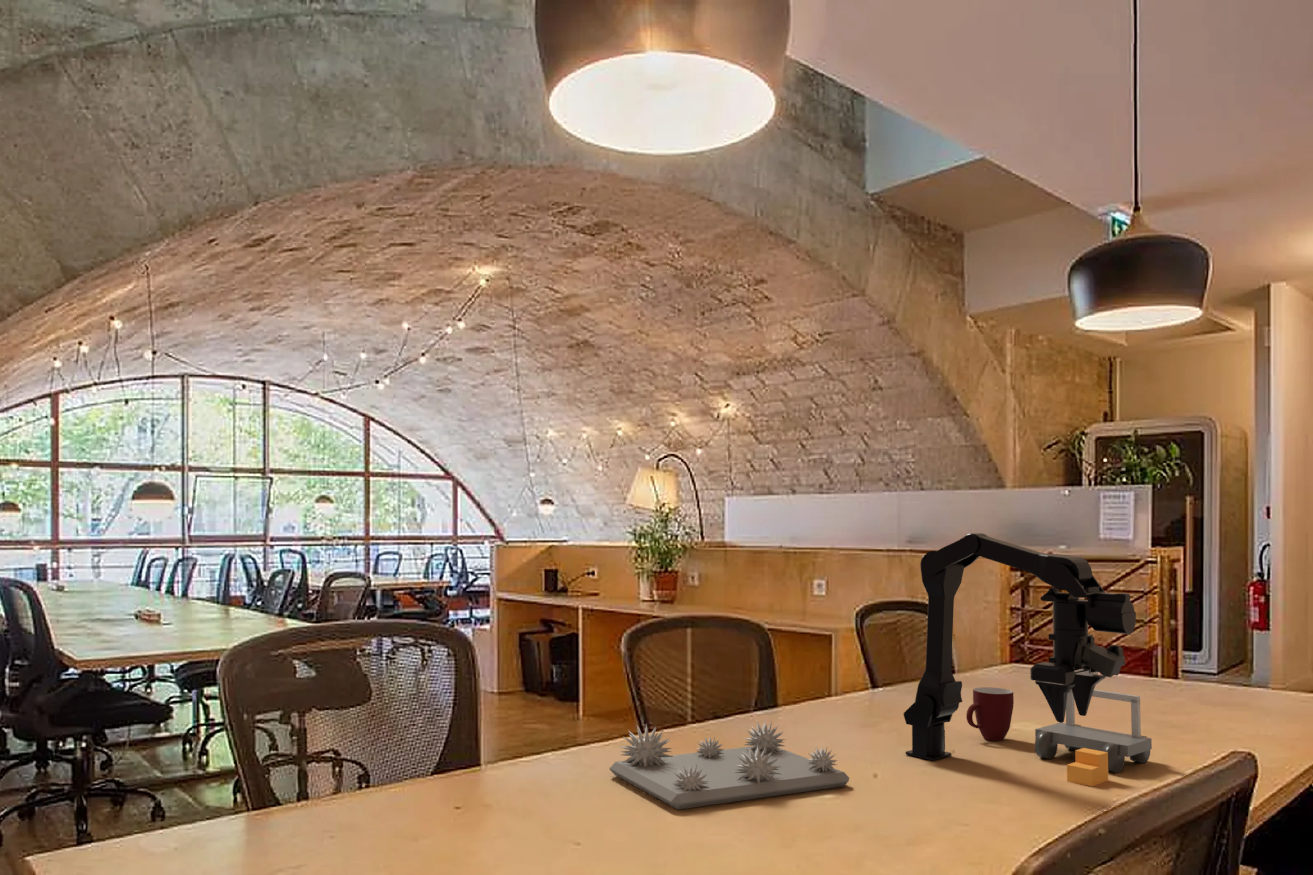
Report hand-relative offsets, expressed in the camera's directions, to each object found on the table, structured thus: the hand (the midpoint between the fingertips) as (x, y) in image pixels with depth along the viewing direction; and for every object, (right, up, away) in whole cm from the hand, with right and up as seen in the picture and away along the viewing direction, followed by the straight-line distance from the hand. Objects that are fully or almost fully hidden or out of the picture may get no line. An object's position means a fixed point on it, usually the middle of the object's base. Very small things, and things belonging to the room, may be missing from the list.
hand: (1071, 718), depth 179 cm
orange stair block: (+4, -12, +3) cm, 13 cm away
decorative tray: (-60, -12, 0) cm, 61 cm away
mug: (-3, -14, +34) cm, 37 cm away
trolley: (+11, -13, +18) cm, 25 cm away
